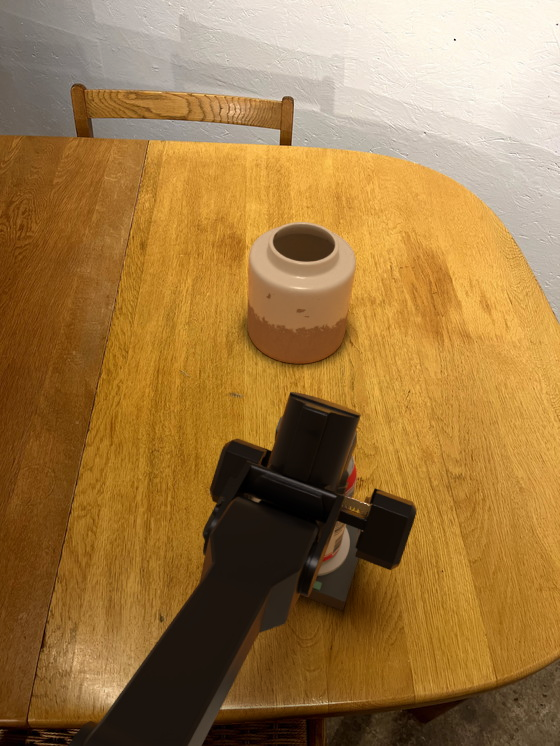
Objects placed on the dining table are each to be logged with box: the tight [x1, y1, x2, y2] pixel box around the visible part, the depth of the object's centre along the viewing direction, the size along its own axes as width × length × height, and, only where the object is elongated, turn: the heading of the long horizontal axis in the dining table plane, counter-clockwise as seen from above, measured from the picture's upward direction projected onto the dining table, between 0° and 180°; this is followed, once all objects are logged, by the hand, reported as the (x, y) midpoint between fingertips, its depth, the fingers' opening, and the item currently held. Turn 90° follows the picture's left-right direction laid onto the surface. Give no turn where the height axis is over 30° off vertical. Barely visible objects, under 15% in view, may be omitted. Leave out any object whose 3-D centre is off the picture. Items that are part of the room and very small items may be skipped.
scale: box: [300, 524, 360, 611], centre depth 76 cm, size 11×11×3 cm
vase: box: [246, 221, 357, 365], centre depth 96 cm, size 15×15×17 cm
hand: (325, 486), depth 69 cm, fingers open, 9 cm apart
